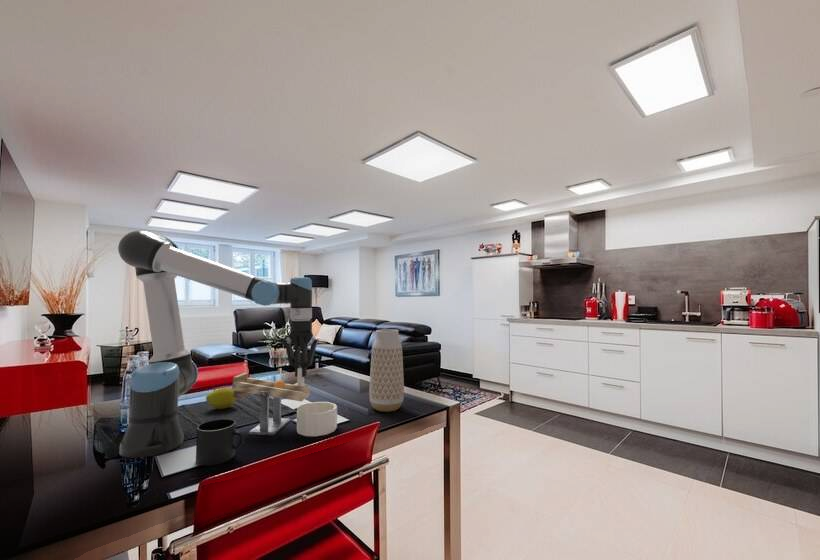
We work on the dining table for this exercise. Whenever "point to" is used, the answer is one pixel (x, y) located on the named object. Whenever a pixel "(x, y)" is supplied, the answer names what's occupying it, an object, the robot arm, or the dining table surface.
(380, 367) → the vase
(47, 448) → the dining table surface
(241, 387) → the lever
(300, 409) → the pot
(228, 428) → the mug
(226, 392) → the lemon
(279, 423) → the stand
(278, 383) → the ball
